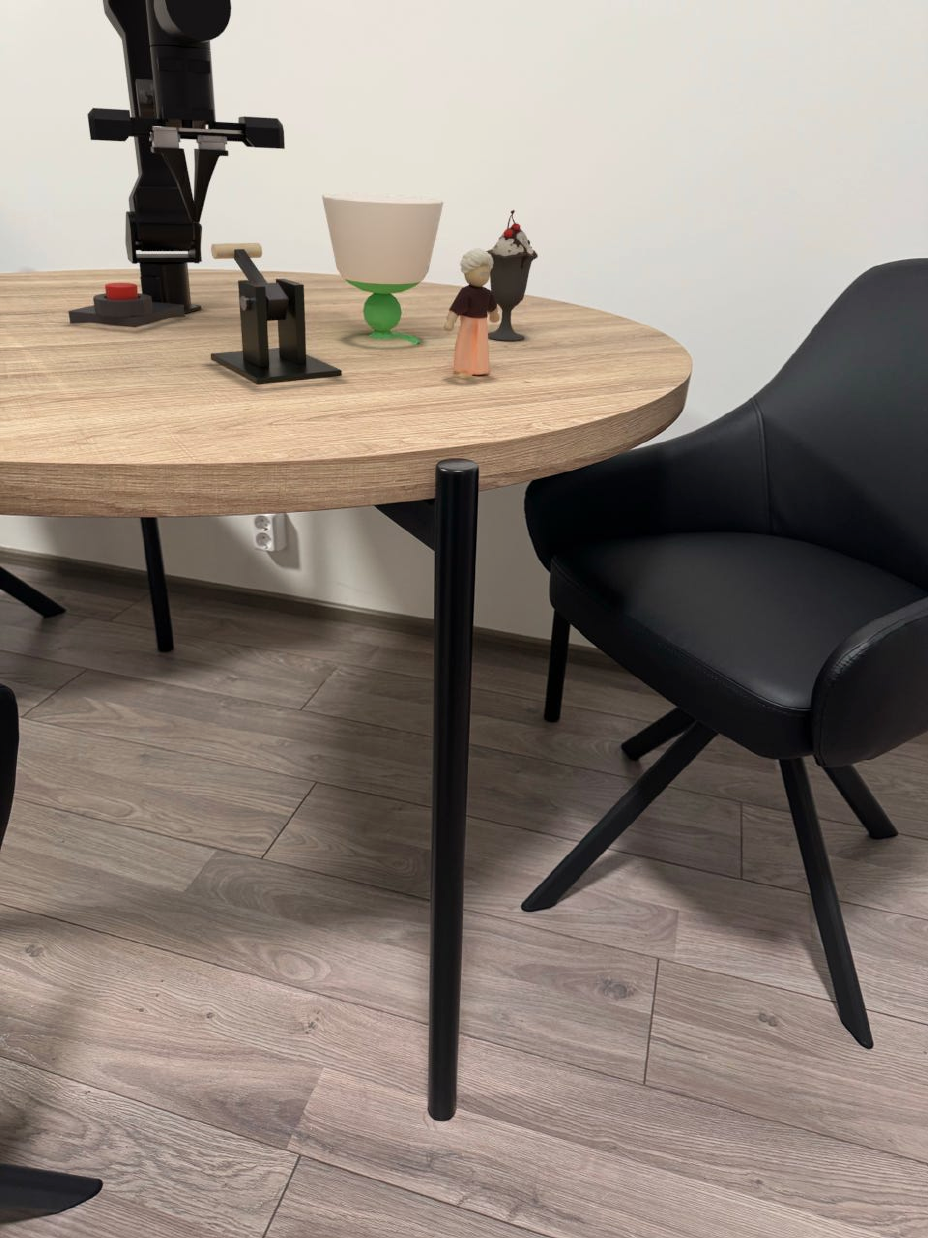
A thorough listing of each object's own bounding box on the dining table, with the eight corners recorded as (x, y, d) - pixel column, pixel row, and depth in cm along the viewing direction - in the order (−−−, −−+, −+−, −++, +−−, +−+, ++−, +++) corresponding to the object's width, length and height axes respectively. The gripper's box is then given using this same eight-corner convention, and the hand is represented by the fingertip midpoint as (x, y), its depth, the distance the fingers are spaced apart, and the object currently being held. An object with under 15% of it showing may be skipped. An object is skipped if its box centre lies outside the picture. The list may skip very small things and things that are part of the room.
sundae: (495, 343, 112) (503, 210, 105) (470, 333, 117) (476, 205, 110) (541, 341, 115) (552, 211, 108) (514, 331, 120) (523, 206, 113)
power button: (118, 296, 111) (116, 281, 110) (144, 299, 110) (142, 284, 109) (100, 300, 108) (98, 285, 107) (127, 303, 107) (125, 287, 106)
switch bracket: (211, 364, 95) (203, 275, 91) (290, 357, 100) (286, 272, 95) (257, 391, 86) (251, 293, 82) (342, 381, 91) (340, 289, 87)
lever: (209, 257, 94) (211, 236, 92) (255, 256, 96) (258, 235, 94) (251, 322, 89) (254, 300, 87) (298, 319, 91) (302, 297, 89)
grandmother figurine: (468, 388, 91) (475, 252, 85) (436, 381, 93) (440, 248, 87) (506, 375, 97) (514, 247, 91) (475, 369, 99) (482, 243, 93)
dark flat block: (123, 312, 119) (120, 283, 118) (186, 318, 117) (184, 289, 116) (66, 326, 109) (61, 295, 107) (134, 333, 107) (130, 302, 105)
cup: (301, 337, 110) (296, 193, 102) (385, 326, 119) (386, 192, 111) (378, 358, 102) (379, 202, 94) (462, 344, 111) (468, 201, 103)
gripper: (264, 61, 99) (272, 218, 106) (79, 47, 93) (100, 214, 100) (281, 54, 89) (288, 226, 96) (77, 38, 83) (101, 223, 91)
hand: (195, 222), depth 96 cm, fingers closed
